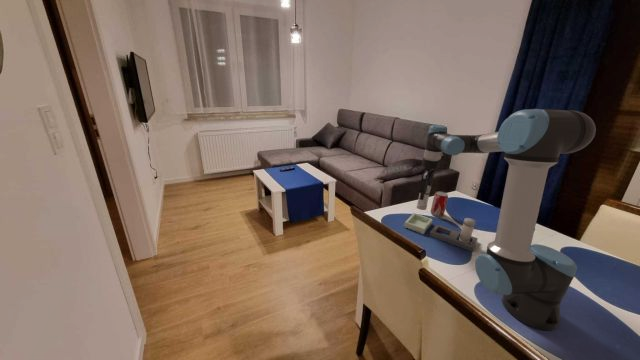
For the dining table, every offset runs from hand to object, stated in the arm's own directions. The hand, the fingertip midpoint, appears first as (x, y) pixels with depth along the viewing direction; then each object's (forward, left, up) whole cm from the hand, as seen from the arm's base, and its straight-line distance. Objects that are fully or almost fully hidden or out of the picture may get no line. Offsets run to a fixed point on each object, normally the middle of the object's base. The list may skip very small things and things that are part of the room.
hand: (422, 203), depth 130 cm
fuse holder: (-1, -17, -13) cm, 21 cm away
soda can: (+20, -4, -13) cm, 24 cm away
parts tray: (0, 0, -13) cm, 13 cm away
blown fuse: (0, 0, -3) cm, 3 cm away
